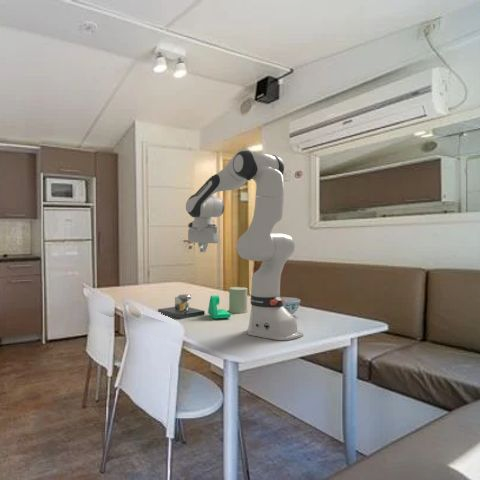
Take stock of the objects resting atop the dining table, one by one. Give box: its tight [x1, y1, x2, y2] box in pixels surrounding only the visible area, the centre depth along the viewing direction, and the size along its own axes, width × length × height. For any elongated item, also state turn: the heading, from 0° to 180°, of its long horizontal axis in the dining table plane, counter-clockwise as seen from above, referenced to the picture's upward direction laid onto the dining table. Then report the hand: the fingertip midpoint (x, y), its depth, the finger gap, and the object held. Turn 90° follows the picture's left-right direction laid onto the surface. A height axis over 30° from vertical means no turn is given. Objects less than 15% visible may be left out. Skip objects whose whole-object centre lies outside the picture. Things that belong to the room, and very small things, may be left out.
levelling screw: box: [178, 293, 192, 311], centre depth 191 cm, size 12×6×7 cm, turn 178°
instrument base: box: [157, 295, 206, 320], centre depth 196 cm, size 18×14×8 cm
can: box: [228, 286, 248, 314], centre depth 204 cm, size 9×9×12 cm
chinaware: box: [281, 296, 301, 315], centre depth 194 cm, size 15×15×8 cm
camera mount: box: [207, 295, 231, 320], centre depth 190 cm, size 12×8×10 cm, turn 18°
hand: (203, 252), depth 205 cm, fingers closed
